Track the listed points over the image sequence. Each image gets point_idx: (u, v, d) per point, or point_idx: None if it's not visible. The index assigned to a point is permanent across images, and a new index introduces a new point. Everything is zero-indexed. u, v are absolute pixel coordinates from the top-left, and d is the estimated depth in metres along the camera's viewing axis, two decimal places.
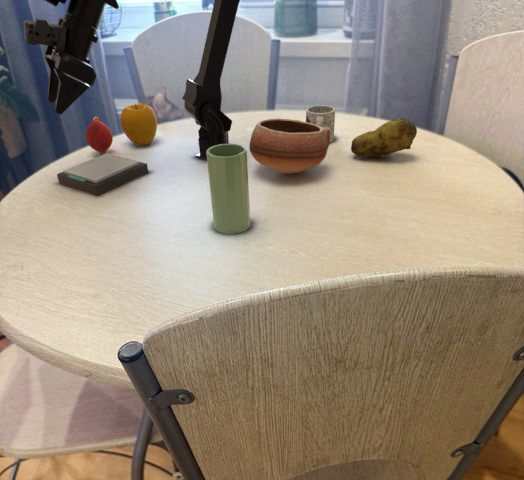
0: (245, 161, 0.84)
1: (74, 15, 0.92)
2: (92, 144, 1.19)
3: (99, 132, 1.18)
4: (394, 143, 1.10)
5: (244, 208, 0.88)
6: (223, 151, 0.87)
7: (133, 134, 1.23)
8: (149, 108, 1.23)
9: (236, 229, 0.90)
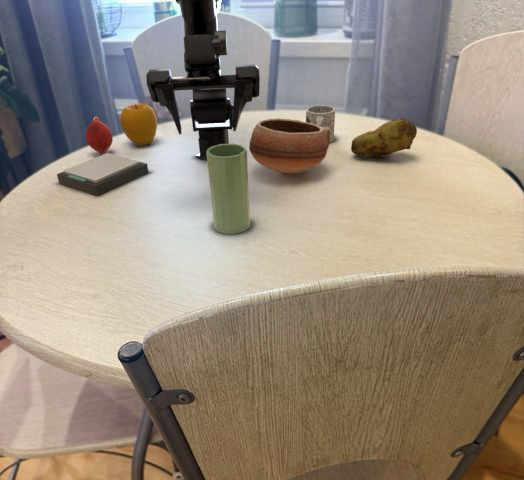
0: (245, 161, 0.84)
1: (213, 34, 0.89)
2: (92, 144, 1.19)
3: (99, 132, 1.18)
4: (394, 143, 1.10)
5: (244, 208, 0.88)
6: (223, 151, 0.87)
7: (133, 134, 1.23)
8: (149, 108, 1.23)
9: (236, 229, 0.90)
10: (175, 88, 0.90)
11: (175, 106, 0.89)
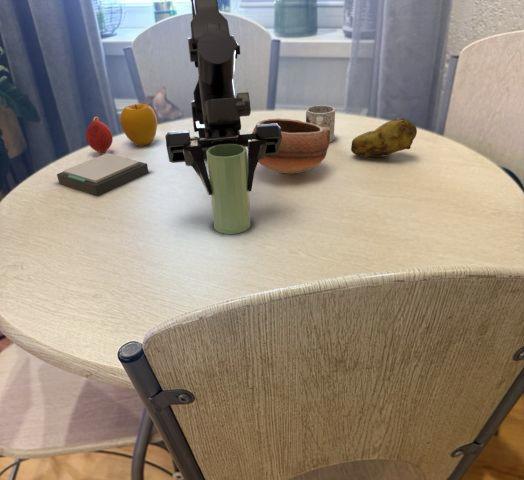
0: (245, 161, 0.84)
1: (231, 93, 0.87)
2: (92, 144, 1.19)
3: (99, 132, 1.18)
4: (394, 143, 1.10)
5: (244, 208, 0.88)
6: (223, 151, 0.87)
7: (133, 134, 1.23)
8: (149, 108, 1.23)
9: (236, 229, 0.90)
10: None
11: (204, 167, 0.86)
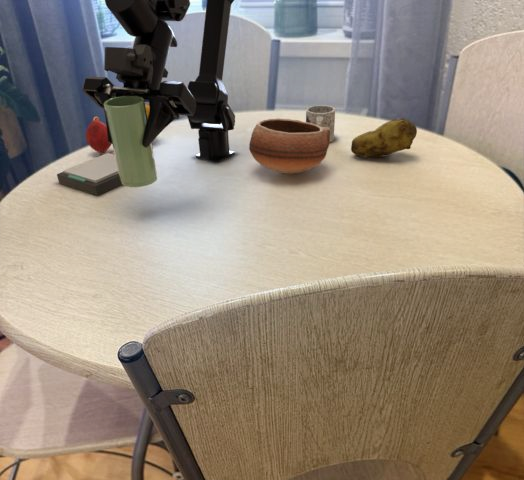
0: (135, 115, 0.84)
1: (156, 47, 0.87)
2: (92, 144, 1.19)
3: (99, 132, 1.18)
4: (394, 143, 1.10)
5: (138, 163, 0.89)
6: (132, 103, 0.88)
7: None
8: (149, 108, 1.23)
9: (131, 183, 0.91)
10: None
11: None
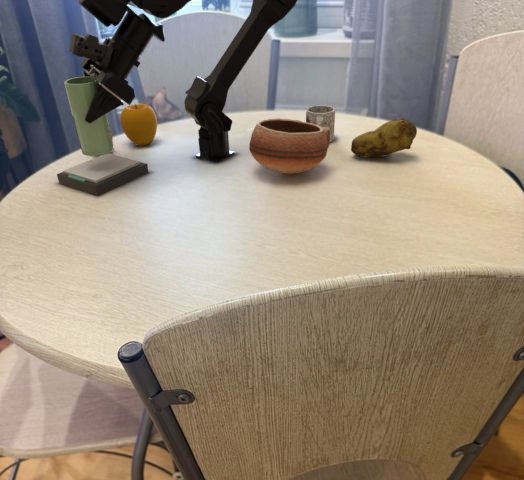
0: (78, 93, 0.98)
1: (123, 38, 0.96)
2: None
3: None
4: (394, 143, 1.10)
5: (83, 135, 1.03)
6: None
7: (133, 134, 1.23)
8: (149, 108, 1.23)
9: (82, 150, 1.06)
10: None
11: None
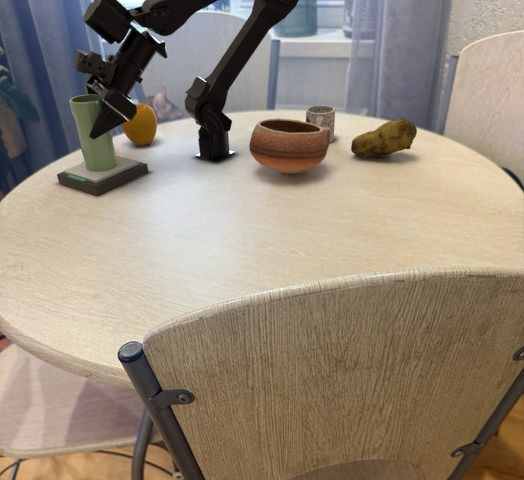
0: (83, 111, 1.00)
1: (126, 55, 0.98)
2: None
3: None
4: (394, 143, 1.10)
5: (87, 151, 1.05)
6: None
7: (133, 134, 1.23)
8: (149, 108, 1.23)
9: (86, 165, 1.08)
10: (101, 91, 1.06)
11: None
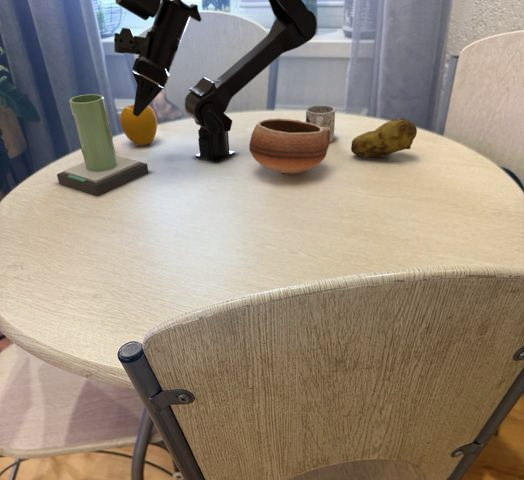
0: (83, 111, 1.00)
1: (162, 28, 0.98)
2: None
3: None
4: (394, 143, 1.10)
5: (87, 151, 1.05)
6: None
7: (133, 134, 1.23)
8: (149, 108, 1.23)
9: (86, 165, 1.08)
10: None
11: None
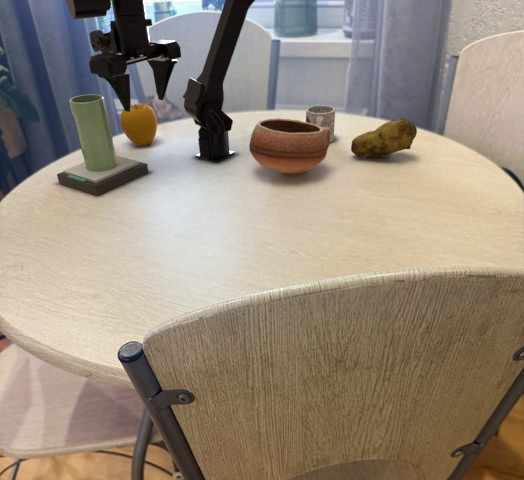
0: (83, 111, 1.00)
1: (123, 13, 0.94)
2: None
3: None
4: (394, 143, 1.10)
5: (87, 151, 1.05)
6: None
7: (133, 134, 1.23)
8: (149, 108, 1.23)
9: (86, 165, 1.08)
10: None
11: (154, 77, 1.07)
